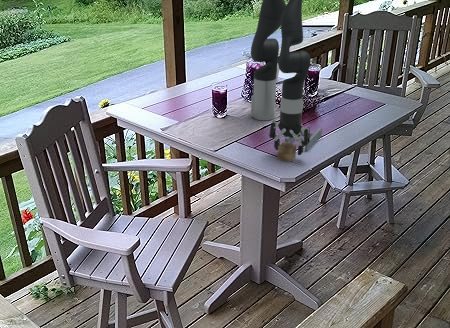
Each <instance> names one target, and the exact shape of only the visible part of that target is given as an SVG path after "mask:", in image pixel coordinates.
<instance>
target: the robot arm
mask: <svg viewBox="0 0 450 328" xmlns="http://www.w3.org/2000/svg"><path fill="white" fill-rule="evenodd" d="M302 15H303V0H288V2H287V4H286V1H285V0H262V1H261V6H260V11H259V15H258V21H257V26H256V30H255V33H254V37H253V39H252V43H251V47H250V57H251V59H252V61H254V62H256V63H266V64H264V65H263V66H261V67H259V68H257V69H255V70H254V74H253V94H252V95H251V99H250V100H251V102H250V105H251V107H250V117H251V118H253V119H255V120H258V121H271V120H273V119H274V118H275V114H276V113H275V112H276V111H275V109H276V93H277V92H276V90H277V89H276V88H277V84H276V75H277V64H278V67H279V72H281V73H283V74H295V75H294V76H292V77H289V78H285V79H284V80H283V82H282V86H281V87H282V88H281V100H280V110H279V122H277V120H273V121H272V122H271V123H270V126H269V127H270V128H269V129H270V130H269V138H270V139H273V140H274V143H273V144H274V145H273V147H274V148H273V149H275V151H278V146H279V145H281V139H280V138H281V137H282V136H284V138H286V137H290V138H294V139H295V140H294V141H295V142H297V143H298V147H297V155H298V156H301V155H302V154H303V153H304V150H305V145H307V144H308V143H309V142H310V134H311V127H309V126H307V127H302V126H301V124H302V117H303V109H304V106H303V104H304V103H303V93H304V85H305V81H306V78H307V76H308V73H309V70H310V68H311V63H312V61H311V56H310V54H309V53H308V52H307V51H304V50H298V51H297V50H296V51H295V50H293V51H290V49H291V47H293V46H296V45H300V44H302V43H303V41H304V31H303V16H302ZM278 29H280V30H281V32H280V33H281V46H279V40H278V39H277V38H272V37H271V38H269V37H270V36H271V35H273V34H274V33H276V32H277V30H278ZM277 128H279V130H280V131H279V133H278V134H276V133H277ZM300 131H302V132H303V134H304V136H302V135H301V134H300Z"/></svg>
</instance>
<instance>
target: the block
mask: <svg viewBox="0 0 450 328" xmlns="http://www.w3.org/2000/svg"><path fill="white" fill-rule="evenodd" d="M276 157H277V159H276V160H280V161H283V162H287V163H292V161H293V160H294V159H295V158H296V157H297V144H295V143H293V142H292V143H287V142H285V141H283V142H281V143H280V145H279V146H278V150H277V156H276Z"/></svg>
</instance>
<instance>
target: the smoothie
mask: <svg viewBox="0 0 450 328" xmlns="http://www.w3.org/2000/svg"><path fill="white" fill-rule="evenodd" d="M279 75H280V69H279V67H278V64H277V75H276V83H277V84H278V79H279Z"/></svg>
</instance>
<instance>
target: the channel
mask: <svg viewBox="0 0 450 328" xmlns="http://www.w3.org/2000/svg"><path fill="white" fill-rule="evenodd" d="M301 126H302V127H303V126H304V125H303V124H302V123H301ZM303 128H304V127H303ZM322 132H323V128H322V127H319V128H318V129H317V130H316V131H315V132H314V133H310V142H309V143H308V144H307V145H304V152H306V153H307V152H308V151H310V149H311V148H313V146H314V145H315V144H316V143H317V142H318V141H319V140H320V138H322ZM300 134H301V135H302V137H304V134H303V132H302V131H300ZM294 141H296V140H295V139H294V138H290V137H284V142H287V143H292V144H293V142H294Z"/></svg>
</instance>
